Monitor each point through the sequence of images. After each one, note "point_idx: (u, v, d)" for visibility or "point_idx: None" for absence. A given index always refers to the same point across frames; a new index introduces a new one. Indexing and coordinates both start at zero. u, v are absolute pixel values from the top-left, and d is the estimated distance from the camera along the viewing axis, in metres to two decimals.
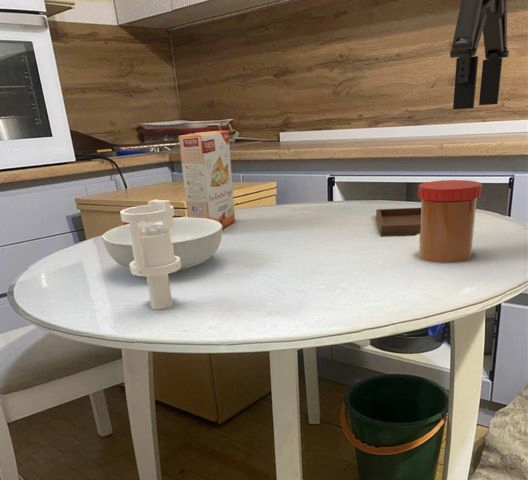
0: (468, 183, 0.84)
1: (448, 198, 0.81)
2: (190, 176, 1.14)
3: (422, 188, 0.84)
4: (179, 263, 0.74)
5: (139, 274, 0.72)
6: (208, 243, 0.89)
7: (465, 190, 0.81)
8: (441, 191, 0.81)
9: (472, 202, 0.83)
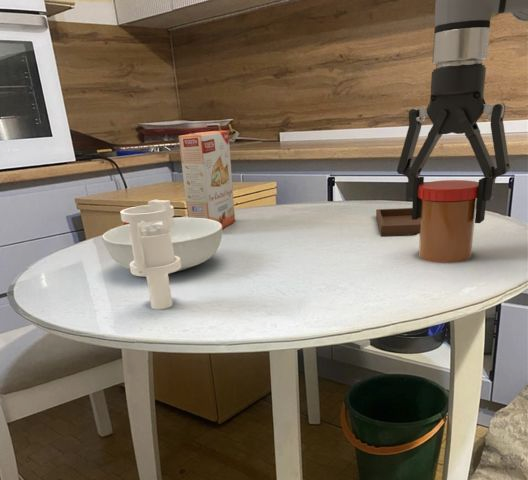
0: (468, 183, 0.84)
1: (448, 198, 0.81)
2: (191, 176, 1.14)
3: (422, 188, 0.84)
4: (179, 263, 0.74)
5: (139, 274, 0.72)
6: (208, 243, 0.89)
7: (465, 191, 0.81)
8: (441, 191, 0.81)
9: (472, 202, 0.83)
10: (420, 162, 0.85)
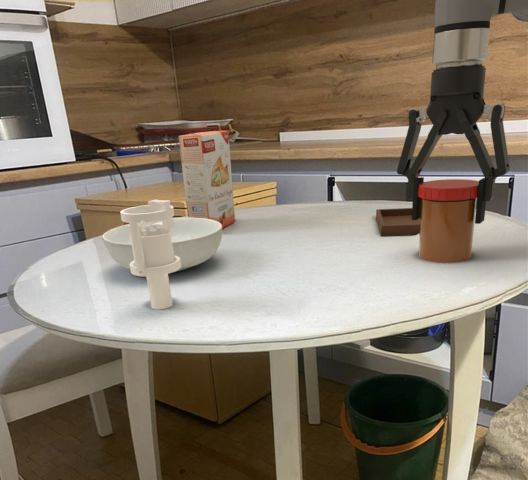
0: (444, 181, 0.87)
1: None
2: (191, 176, 1.14)
3: (468, 188, 0.81)
4: (179, 263, 0.74)
5: (139, 274, 0.72)
6: (208, 243, 0.89)
7: None
8: None
9: (472, 202, 0.83)
10: (420, 163, 0.85)
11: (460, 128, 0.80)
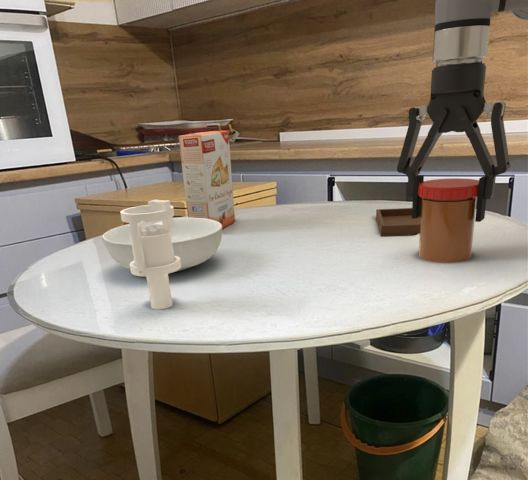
0: (432, 184, 0.85)
1: None
2: (191, 176, 1.14)
3: (473, 180, 0.86)
4: (179, 263, 0.74)
5: (139, 274, 0.72)
6: (208, 243, 0.89)
7: None
8: None
9: (472, 202, 0.83)
10: (420, 161, 0.85)
11: (460, 126, 0.80)
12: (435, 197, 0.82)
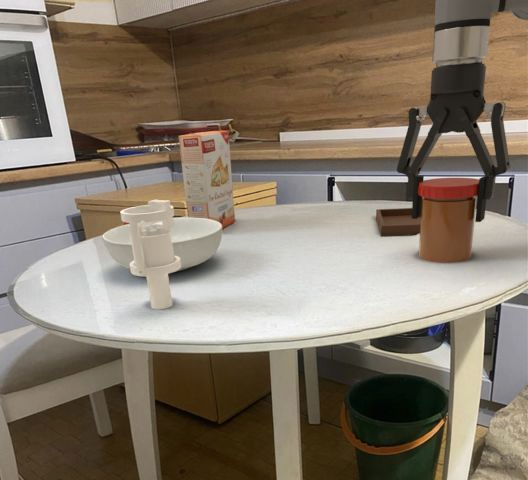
0: (458, 184, 0.82)
1: (419, 192, 0.86)
2: (191, 176, 1.14)
3: (428, 180, 0.89)
4: (179, 263, 0.74)
5: (139, 274, 0.72)
6: (208, 243, 0.89)
7: (426, 188, 0.83)
8: None
9: (472, 202, 0.83)
10: (420, 161, 0.85)
11: (460, 126, 0.80)
12: None
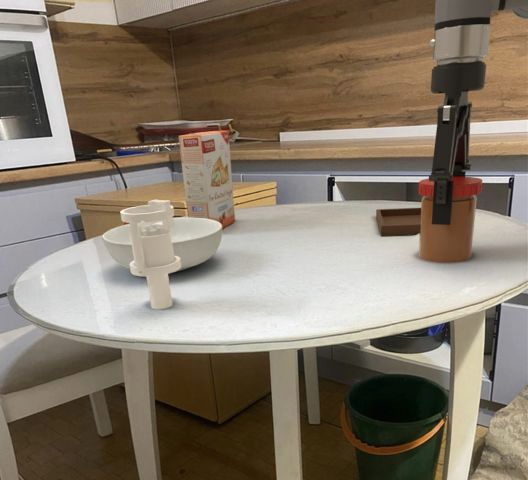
0: (466, 178, 0.85)
1: (460, 194, 0.81)
2: (191, 176, 1.14)
3: (429, 185, 0.82)
4: (179, 263, 0.74)
5: (139, 274, 0.72)
6: (208, 243, 0.89)
7: (474, 185, 0.81)
8: (453, 187, 0.81)
9: (472, 202, 0.83)
10: (454, 162, 0.79)
11: None
12: None
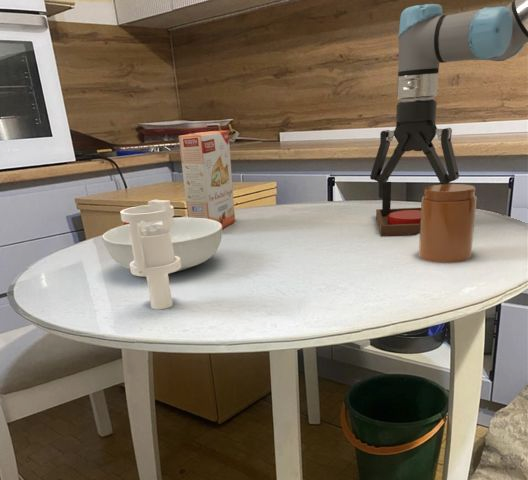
0: (406, 212, 1.15)
1: None
2: (191, 176, 1.14)
3: None
4: (179, 263, 0.74)
5: (139, 274, 0.72)
6: (208, 243, 0.89)
7: None
8: None
9: (472, 202, 0.83)
10: None
11: None
12: None
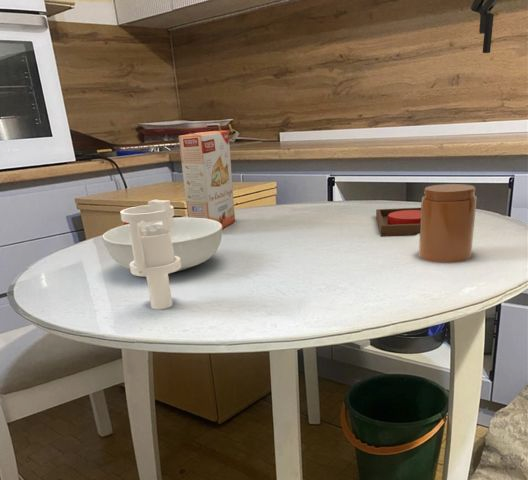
0: (406, 212, 1.15)
1: None
2: (191, 176, 1.14)
3: None
4: (179, 263, 0.74)
5: (139, 274, 0.72)
6: (208, 243, 0.89)
7: None
8: None
9: (472, 202, 0.83)
10: None
11: None
12: None
